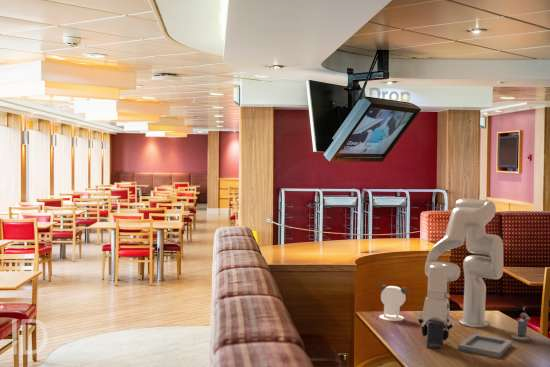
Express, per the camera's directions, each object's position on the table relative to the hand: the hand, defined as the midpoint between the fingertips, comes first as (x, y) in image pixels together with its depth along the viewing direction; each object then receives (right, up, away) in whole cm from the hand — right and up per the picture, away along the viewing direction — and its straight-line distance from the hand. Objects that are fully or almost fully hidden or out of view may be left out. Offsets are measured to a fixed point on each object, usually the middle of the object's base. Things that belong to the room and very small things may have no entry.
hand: (434, 337), depth 269 cm
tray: (+20, -4, -2) cm, 20 cm away
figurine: (+39, -4, +11) cm, 41 cm away
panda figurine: (-10, -1, +41) cm, 43 cm away
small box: (0, -3, 0) cm, 3 cm away
